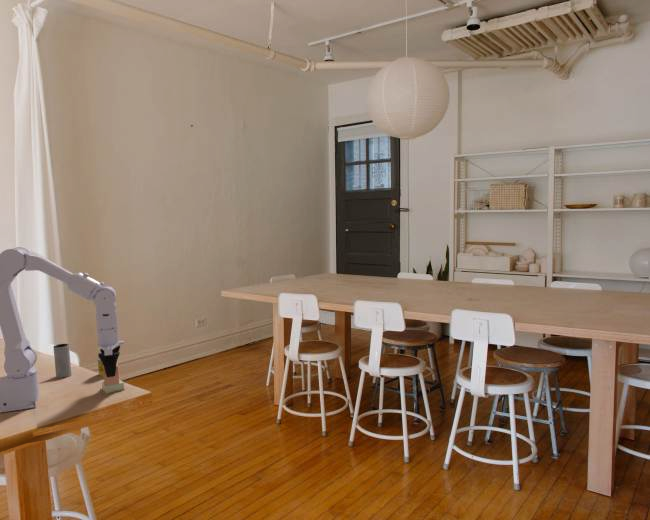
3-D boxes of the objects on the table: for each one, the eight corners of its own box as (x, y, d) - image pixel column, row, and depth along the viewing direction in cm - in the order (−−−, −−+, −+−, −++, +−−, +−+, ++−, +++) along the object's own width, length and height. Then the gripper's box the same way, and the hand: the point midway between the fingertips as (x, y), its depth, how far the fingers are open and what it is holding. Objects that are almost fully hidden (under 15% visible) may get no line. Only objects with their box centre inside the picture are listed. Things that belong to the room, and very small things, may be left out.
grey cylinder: (67, 373, 179) (64, 343, 178) (73, 375, 176) (71, 344, 175) (53, 376, 176) (50, 346, 175) (60, 378, 173) (57, 347, 172)
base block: (103, 401, 152) (103, 394, 152) (100, 395, 157) (100, 388, 157) (125, 396, 155) (125, 389, 155) (122, 391, 160) (121, 384, 160)
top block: (106, 393, 152) (105, 386, 152) (102, 388, 156) (101, 382, 156) (124, 389, 155) (123, 382, 155) (120, 385, 159) (119, 378, 159)
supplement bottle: (120, 376, 173) (118, 347, 172) (106, 381, 168) (104, 351, 168) (109, 374, 176) (107, 345, 175) (95, 378, 171) (93, 349, 170)
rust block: (104, 385, 153) (103, 368, 153) (105, 381, 157) (103, 364, 156) (119, 383, 154) (117, 366, 154) (119, 379, 158) (118, 363, 158)
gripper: (122, 331, 149) (125, 378, 150) (122, 321, 162) (126, 365, 163) (94, 334, 146) (98, 382, 148) (97, 324, 160) (101, 368, 161)
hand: (111, 373), depth 155 cm, fingers open, 5 cm apart
